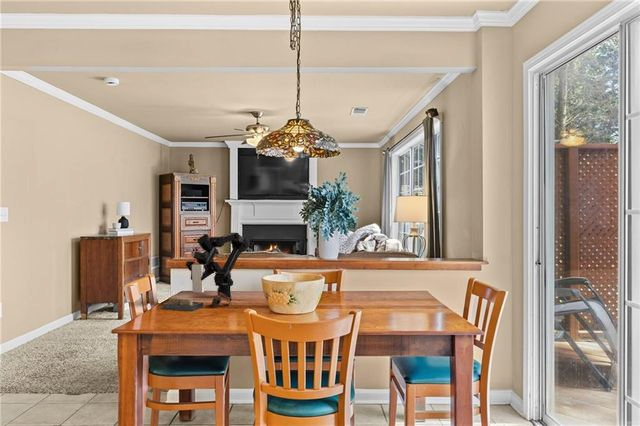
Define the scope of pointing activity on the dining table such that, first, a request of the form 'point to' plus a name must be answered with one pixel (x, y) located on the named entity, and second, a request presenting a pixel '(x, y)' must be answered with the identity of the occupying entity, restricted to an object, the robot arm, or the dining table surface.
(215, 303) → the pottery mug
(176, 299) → the offcut
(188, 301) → the offcut
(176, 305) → the plate
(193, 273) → the white upright block
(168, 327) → the dining table surface
